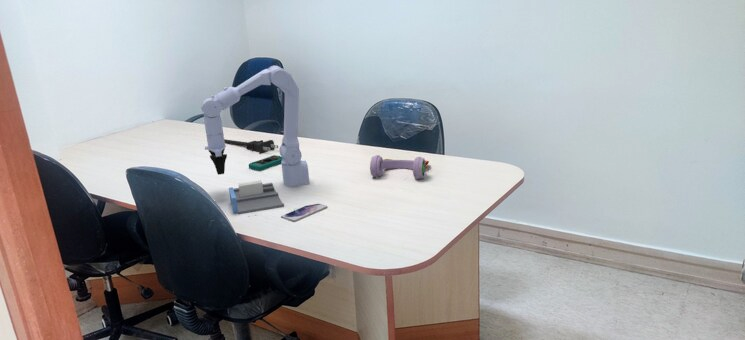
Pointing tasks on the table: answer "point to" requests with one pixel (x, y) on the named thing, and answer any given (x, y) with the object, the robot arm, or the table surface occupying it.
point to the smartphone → (303, 212)
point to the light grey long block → (253, 188)
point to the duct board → (254, 200)
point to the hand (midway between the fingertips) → (220, 170)
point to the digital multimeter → (266, 163)
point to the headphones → (398, 165)
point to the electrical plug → (255, 145)
